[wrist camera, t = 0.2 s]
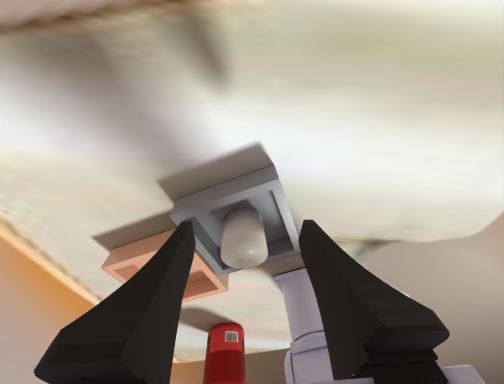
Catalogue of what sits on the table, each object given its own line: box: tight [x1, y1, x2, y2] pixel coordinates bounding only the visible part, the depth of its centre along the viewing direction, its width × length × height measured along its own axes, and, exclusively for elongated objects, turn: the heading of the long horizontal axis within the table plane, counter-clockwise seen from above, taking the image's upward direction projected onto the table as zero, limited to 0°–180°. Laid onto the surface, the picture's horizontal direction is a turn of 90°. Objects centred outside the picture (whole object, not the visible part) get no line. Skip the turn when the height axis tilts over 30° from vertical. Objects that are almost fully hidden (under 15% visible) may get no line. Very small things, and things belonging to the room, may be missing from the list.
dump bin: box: [101, 228, 229, 303], centre depth 28 cm, size 12×12×3 cm
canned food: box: [203, 323, 245, 384], centre depth 39 cm, size 8×8×11 cm
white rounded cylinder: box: [221, 207, 268, 269], centre depth 22 cm, size 5×5×5 cm
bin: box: [169, 165, 301, 276], centre depth 24 cm, size 12×12×3 cm
